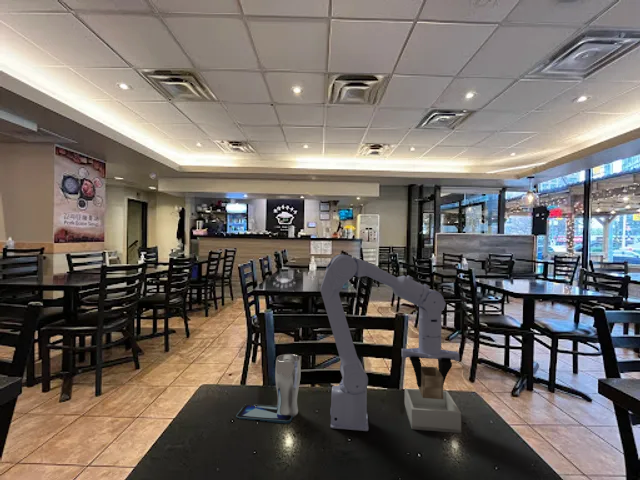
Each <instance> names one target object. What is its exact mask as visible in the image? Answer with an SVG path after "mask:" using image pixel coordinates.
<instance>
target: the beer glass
mask: <svg viewBox="0 0 640 480" xmlns="http://www.w3.org/2000/svg"><path fill="white" fill-rule="evenodd" d="M274 370H275V372H274V375H275V378H274V380H275V386H276V394H277V404H276V406H277V409H276V413H277V414H278V415H280V416H292V415H293V418H295V417H297V415H298V414H299V407H298V393H299V389H300V388H299V387H300V384H301V383H300V381H301V372H302V370H301V357H300V356H299V355H297V354H293V353H285V354H280V355H278V356H277V357H276V362H275V369H274Z"/></svg>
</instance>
